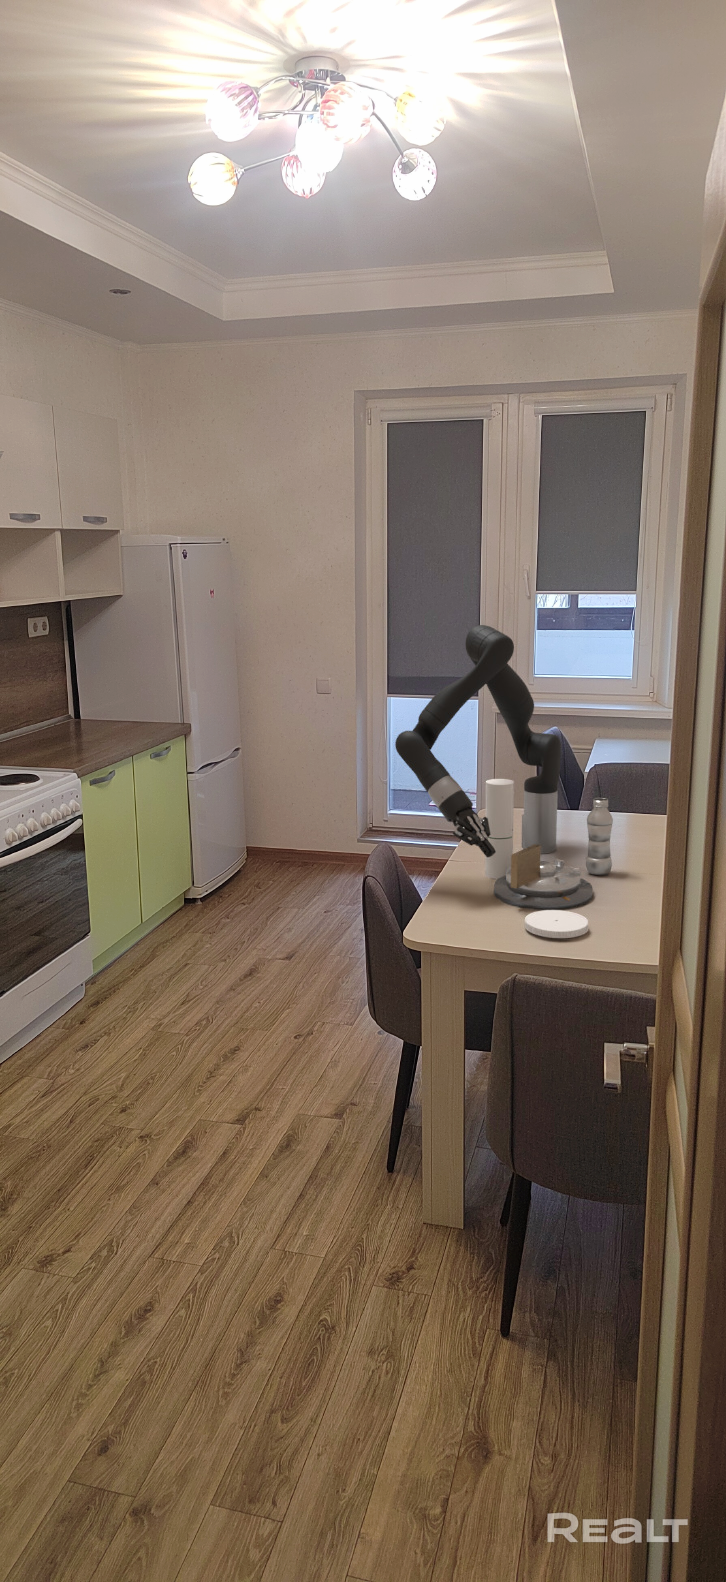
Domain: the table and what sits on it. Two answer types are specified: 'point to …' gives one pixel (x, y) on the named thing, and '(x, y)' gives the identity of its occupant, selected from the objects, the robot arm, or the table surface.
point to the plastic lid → (556, 924)
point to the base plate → (543, 902)
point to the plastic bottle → (599, 838)
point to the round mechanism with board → (540, 875)
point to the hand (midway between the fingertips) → (492, 854)
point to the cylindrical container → (499, 825)
